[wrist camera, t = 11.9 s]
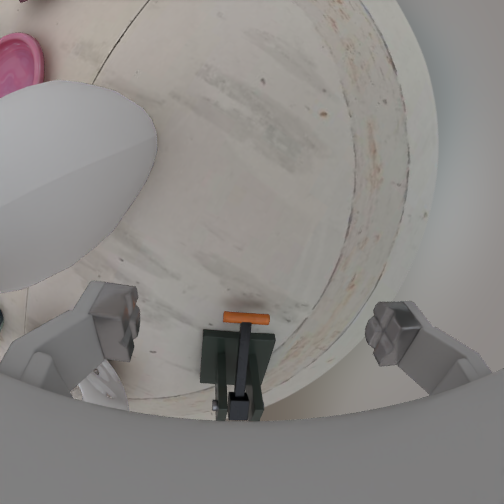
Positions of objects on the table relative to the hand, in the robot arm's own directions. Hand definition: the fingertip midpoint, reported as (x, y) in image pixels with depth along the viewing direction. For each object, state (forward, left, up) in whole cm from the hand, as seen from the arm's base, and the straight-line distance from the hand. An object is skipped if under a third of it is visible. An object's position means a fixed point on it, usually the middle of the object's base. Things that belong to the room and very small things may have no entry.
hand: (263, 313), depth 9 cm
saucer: (+26, -9, -19) cm, 34 cm away
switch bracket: (-3, +24, -19) cm, 31 cm away
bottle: (+12, -2, -19) cm, 23 cm away
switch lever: (-3, +20, -14) cm, 25 cm away
